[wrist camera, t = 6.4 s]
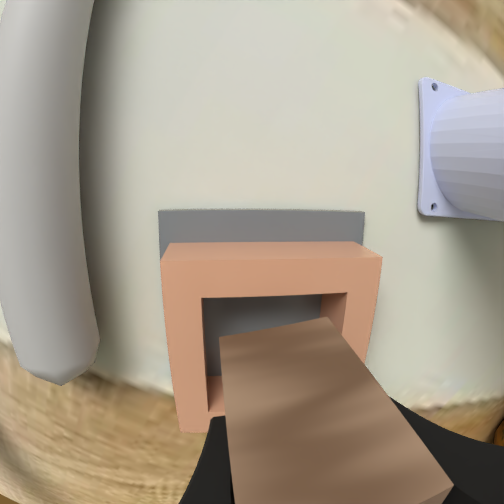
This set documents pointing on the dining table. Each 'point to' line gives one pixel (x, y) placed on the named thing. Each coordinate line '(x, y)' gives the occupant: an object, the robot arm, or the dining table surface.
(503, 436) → the decorative pumpkin
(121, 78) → the dining table surface
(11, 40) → the tube
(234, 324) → the socket
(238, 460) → the peg
